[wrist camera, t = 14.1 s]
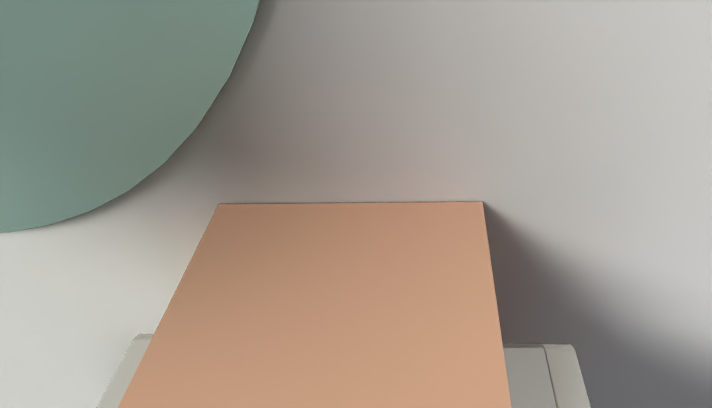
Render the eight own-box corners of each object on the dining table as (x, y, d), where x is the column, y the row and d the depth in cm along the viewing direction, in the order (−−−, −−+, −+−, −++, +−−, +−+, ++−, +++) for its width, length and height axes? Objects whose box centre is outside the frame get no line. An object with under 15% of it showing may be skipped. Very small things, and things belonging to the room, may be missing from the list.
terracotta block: (482, 201, 10) (521, 475, 6) (471, 372, 13) (492, 629, 9) (218, 204, 11) (95, 452, 7) (265, 365, 14) (200, 604, 10)
